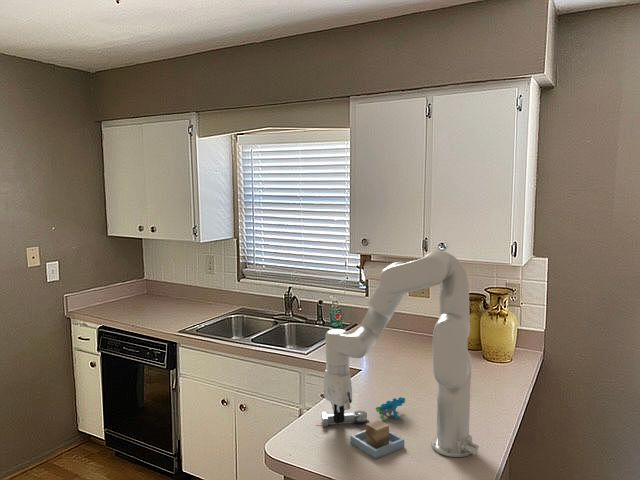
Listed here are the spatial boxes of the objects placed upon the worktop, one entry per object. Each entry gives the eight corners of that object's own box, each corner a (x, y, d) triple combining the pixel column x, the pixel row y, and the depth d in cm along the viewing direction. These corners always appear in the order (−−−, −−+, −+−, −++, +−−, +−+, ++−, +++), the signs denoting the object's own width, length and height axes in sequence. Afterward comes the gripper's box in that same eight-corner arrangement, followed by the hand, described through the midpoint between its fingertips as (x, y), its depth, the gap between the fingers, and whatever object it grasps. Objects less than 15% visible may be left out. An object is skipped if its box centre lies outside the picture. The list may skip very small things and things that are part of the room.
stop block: (389, 444, 160) (389, 425, 159) (376, 449, 157) (376, 430, 156) (377, 437, 164) (377, 419, 163) (365, 442, 161) (365, 423, 160)
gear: (400, 403, 186) (407, 392, 178) (407, 419, 183) (414, 409, 175) (371, 412, 183) (377, 401, 175) (378, 428, 179) (384, 418, 172)
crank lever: (365, 417, 178) (365, 409, 178) (368, 424, 173) (368, 416, 173) (321, 419, 177) (321, 412, 176) (322, 426, 172) (322, 419, 171)
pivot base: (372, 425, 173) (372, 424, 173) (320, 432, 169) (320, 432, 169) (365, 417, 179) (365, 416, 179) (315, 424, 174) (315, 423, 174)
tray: (404, 447, 159) (404, 439, 159) (375, 459, 152) (375, 451, 152) (378, 432, 169) (378, 424, 168) (350, 443, 162) (350, 435, 162)
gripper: (315, 364, 174) (316, 417, 176) (343, 377, 162) (344, 433, 164) (333, 359, 178) (334, 410, 180) (361, 371, 166) (362, 426, 168)
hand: (339, 421), depth 172 cm, fingers closed
